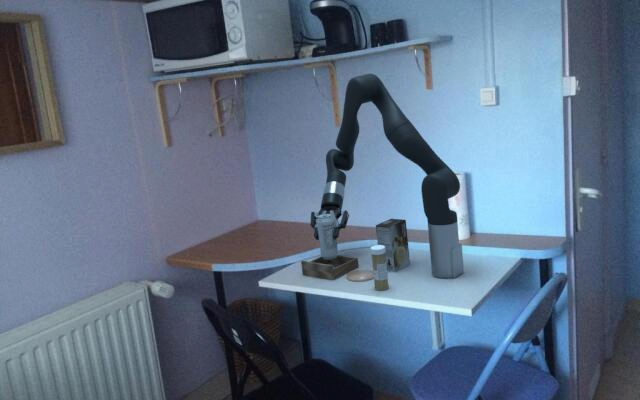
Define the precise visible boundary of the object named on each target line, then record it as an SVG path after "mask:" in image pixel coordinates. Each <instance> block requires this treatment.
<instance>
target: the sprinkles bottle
mask: <svg viewBox="0 0 640 400" xmlns="http://www.w3.org/2000/svg"><path fill="white" fill-rule="evenodd" d="M385 252H386V250H385V246H383V245H378V244H375V245H372V246H371V247H370V254H371V263H372V270H373V275H374V279H373V282H374V289H375V290H377V291H384V290H388V289H389V288H390V285H389V281H388V279H389V278H388V271H387V264H386V255H385V254H386V253H385Z"/></svg>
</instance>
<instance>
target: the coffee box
mask: <svg viewBox="0 0 640 400" xmlns="http://www.w3.org/2000/svg"><path fill="white" fill-rule="evenodd" d="M406 221H407V220H406V219H400V218H399V219H398V218H390V219H387V220H385V221H383V222H380V223H377V224H375V229H376V238H377V239H376V240H377V241H376V242H377V245H383V246H385V250H386V252H385V253H386V254H385V255H386V264H387V272H390V273H396V272H398V271H400V270H402V269H404V268H406V267H407V266H410V264H411V260H410V251H409V249H410V248H409V240H408V232H407V231H408V229H407V222H406Z"/></svg>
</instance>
